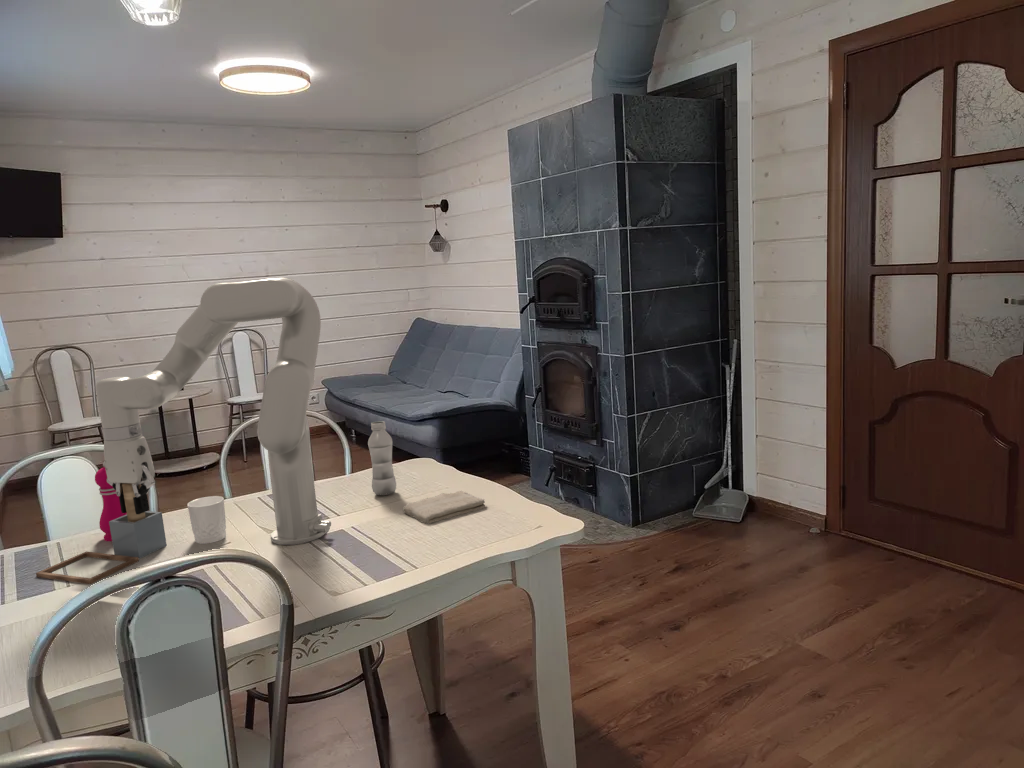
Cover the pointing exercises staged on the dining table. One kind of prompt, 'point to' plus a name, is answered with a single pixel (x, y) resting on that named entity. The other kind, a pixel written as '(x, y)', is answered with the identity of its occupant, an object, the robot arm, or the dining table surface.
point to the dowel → (131, 503)
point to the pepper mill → (107, 502)
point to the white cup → (207, 519)
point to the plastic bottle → (381, 460)
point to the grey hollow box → (138, 535)
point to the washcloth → (443, 506)
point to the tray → (47, 574)
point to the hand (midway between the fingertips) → (135, 510)
